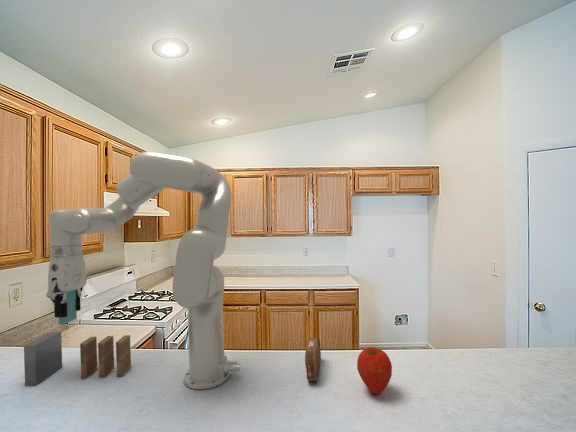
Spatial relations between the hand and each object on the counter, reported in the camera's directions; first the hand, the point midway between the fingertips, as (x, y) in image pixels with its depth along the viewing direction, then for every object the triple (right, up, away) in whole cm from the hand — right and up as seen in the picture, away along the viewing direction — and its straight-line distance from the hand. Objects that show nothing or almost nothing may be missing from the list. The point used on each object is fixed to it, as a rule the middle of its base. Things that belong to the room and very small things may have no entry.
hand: (68, 313), depth 88 cm
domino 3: (+11, -18, 0) cm, 21 cm away
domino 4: (+16, -18, 0) cm, 24 cm away
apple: (+86, -16, -13) cm, 89 cm away
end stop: (-7, -18, 0) cm, 20 cm away
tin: (+72, -16, -3) cm, 74 cm away
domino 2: (+6, -18, 0) cm, 19 cm away
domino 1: (0, -2, 0) cm, 2 cm away
